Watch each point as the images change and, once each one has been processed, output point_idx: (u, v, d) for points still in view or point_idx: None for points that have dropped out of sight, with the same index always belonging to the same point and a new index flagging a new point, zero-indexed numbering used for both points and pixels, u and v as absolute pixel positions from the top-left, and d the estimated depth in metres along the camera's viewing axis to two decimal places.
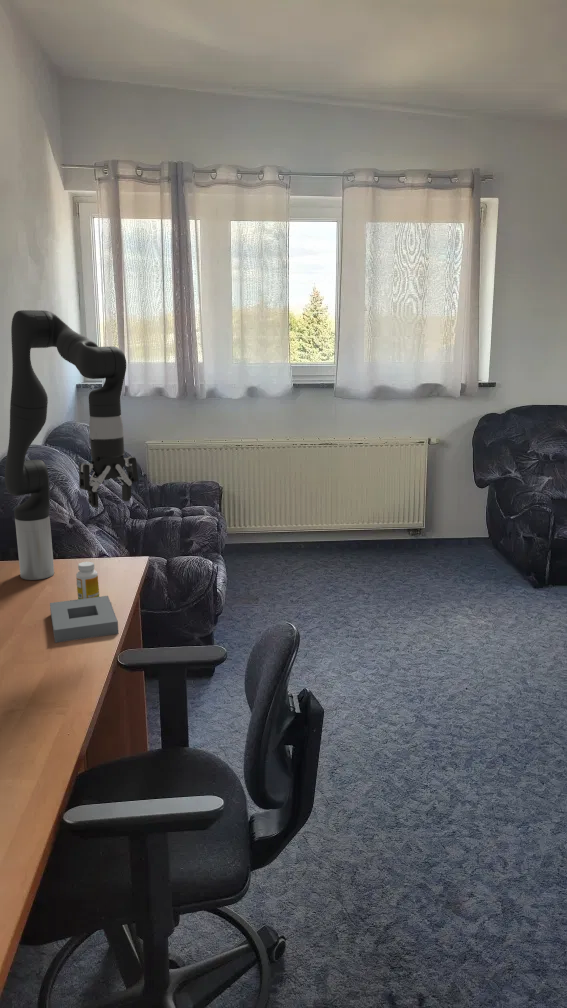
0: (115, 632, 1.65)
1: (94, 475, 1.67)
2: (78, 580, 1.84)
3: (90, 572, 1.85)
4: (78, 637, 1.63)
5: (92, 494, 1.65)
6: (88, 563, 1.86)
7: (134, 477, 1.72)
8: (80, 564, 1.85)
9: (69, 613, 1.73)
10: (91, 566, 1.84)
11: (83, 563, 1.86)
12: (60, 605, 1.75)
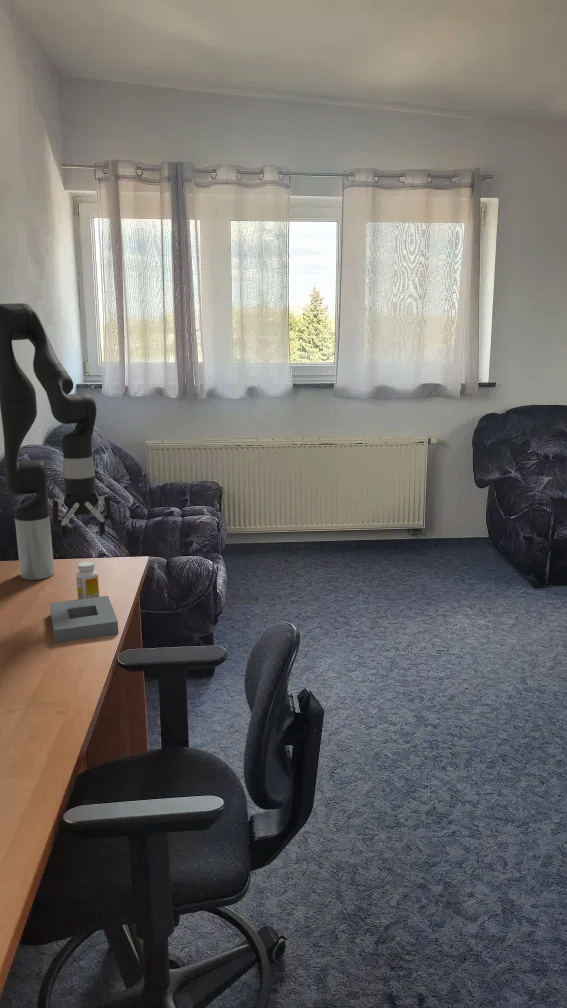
0: (115, 632, 1.65)
1: None
2: (78, 580, 1.84)
3: (90, 572, 1.85)
4: (78, 637, 1.63)
5: None
6: (88, 563, 1.86)
7: None
8: (80, 564, 1.85)
9: (69, 613, 1.73)
10: (91, 566, 1.84)
11: (83, 563, 1.86)
12: (60, 605, 1.75)
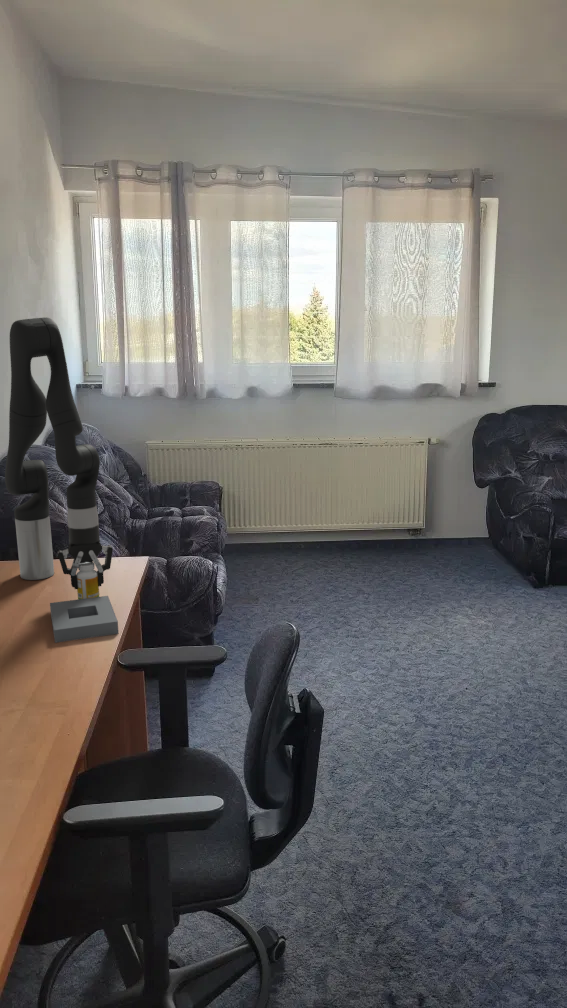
0: (115, 632, 1.65)
1: None
2: (78, 580, 1.84)
3: (90, 572, 1.85)
4: (78, 637, 1.63)
5: None
6: (88, 563, 1.86)
7: None
8: (80, 564, 1.85)
9: (69, 613, 1.73)
10: (91, 566, 1.84)
11: (83, 563, 1.86)
12: (60, 605, 1.75)
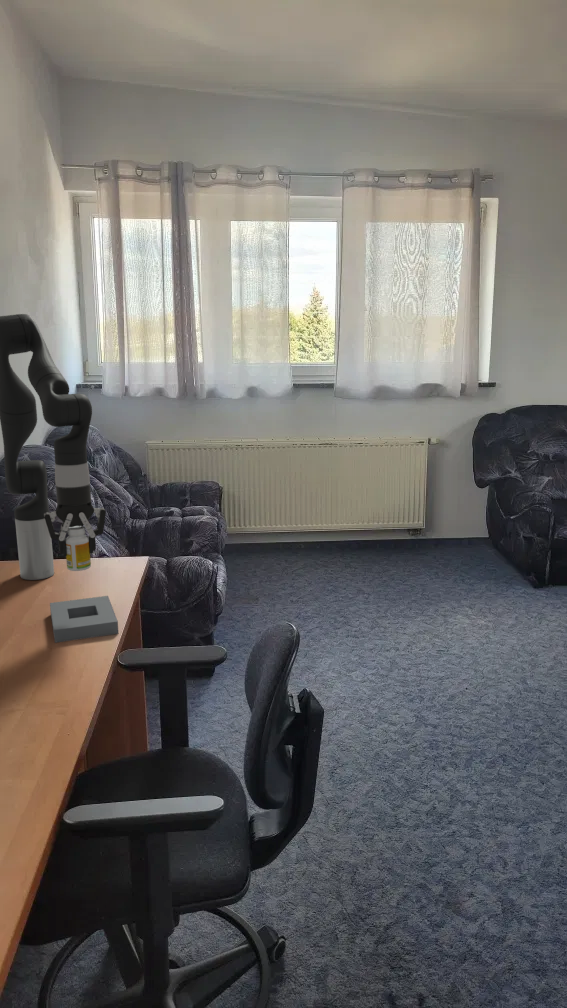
0: (115, 632, 1.65)
1: None
2: (67, 546, 1.65)
3: (80, 537, 1.65)
4: (78, 637, 1.63)
5: None
6: (78, 527, 1.67)
7: None
8: (69, 528, 1.66)
9: (69, 613, 1.73)
10: (82, 530, 1.65)
11: (73, 527, 1.67)
12: (60, 605, 1.75)
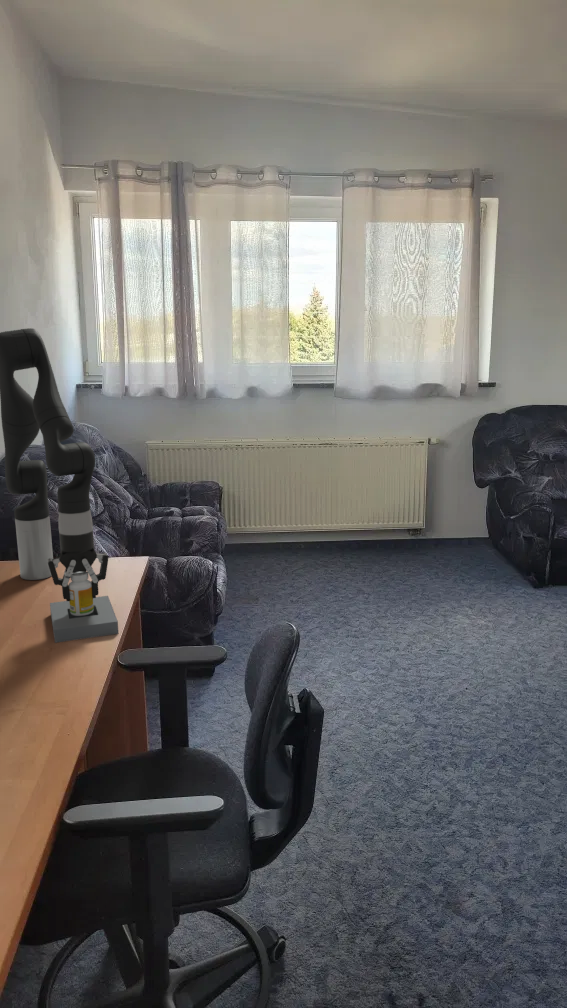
0: (115, 632, 1.65)
1: None
2: (70, 591, 1.68)
3: (83, 582, 1.68)
4: (78, 637, 1.63)
5: None
6: (81, 572, 1.69)
7: None
8: (72, 574, 1.68)
9: (69, 613, 1.73)
10: (85, 576, 1.68)
11: None
12: (60, 605, 1.75)
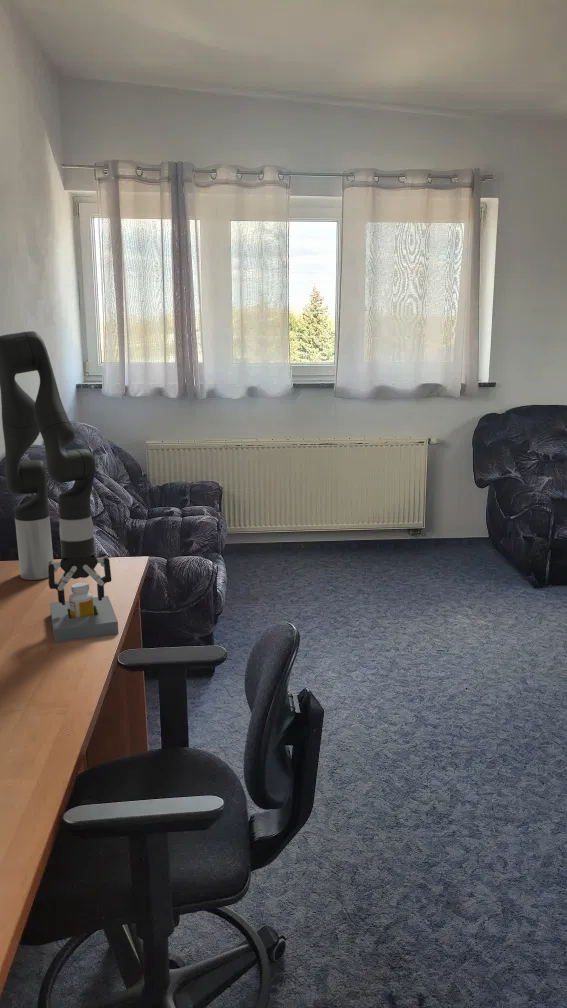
0: (115, 632, 1.65)
1: None
2: (71, 603, 1.68)
3: (84, 594, 1.69)
4: (78, 637, 1.63)
5: None
6: (82, 584, 1.70)
7: None
8: (73, 585, 1.69)
9: (69, 613, 1.73)
10: (85, 588, 1.68)
11: (77, 584, 1.70)
12: (60, 605, 1.75)
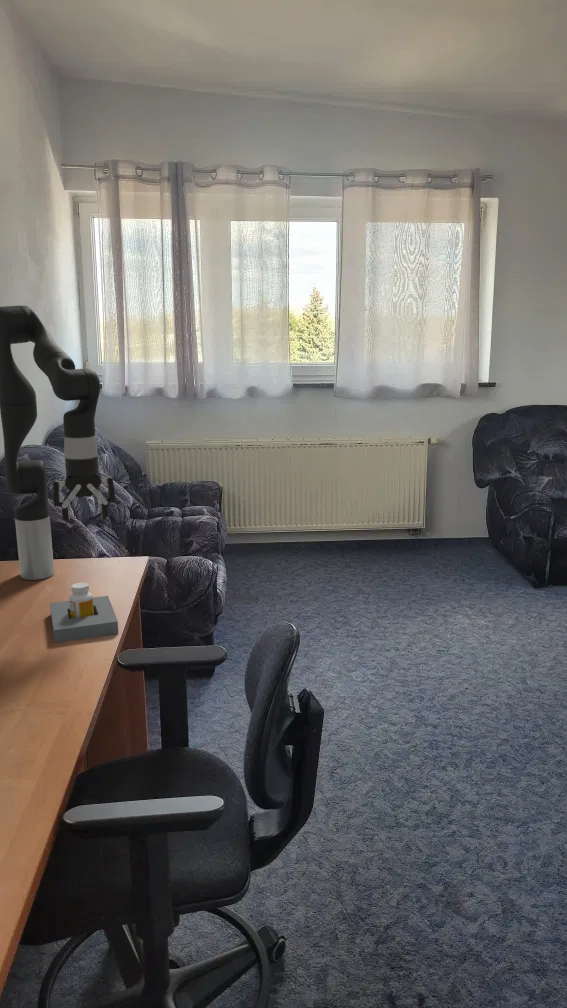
0: (115, 632, 1.65)
1: None
2: (71, 603, 1.68)
3: (84, 594, 1.69)
4: (78, 637, 1.63)
5: None
6: (82, 584, 1.70)
7: None
8: (73, 585, 1.69)
9: (69, 613, 1.73)
10: (85, 588, 1.68)
11: (77, 584, 1.70)
12: (60, 605, 1.75)
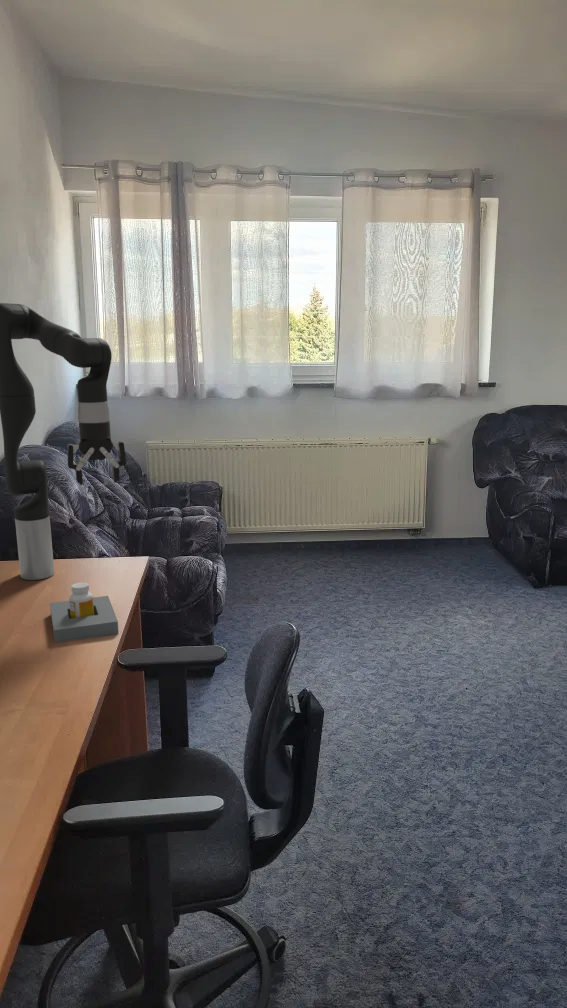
0: (115, 632, 1.65)
1: None
2: (71, 603, 1.68)
3: (84, 594, 1.69)
4: (78, 637, 1.63)
5: None
6: (82, 584, 1.70)
7: None
8: (73, 585, 1.69)
9: (69, 613, 1.73)
10: (85, 588, 1.68)
11: (77, 584, 1.70)
12: (60, 605, 1.75)
